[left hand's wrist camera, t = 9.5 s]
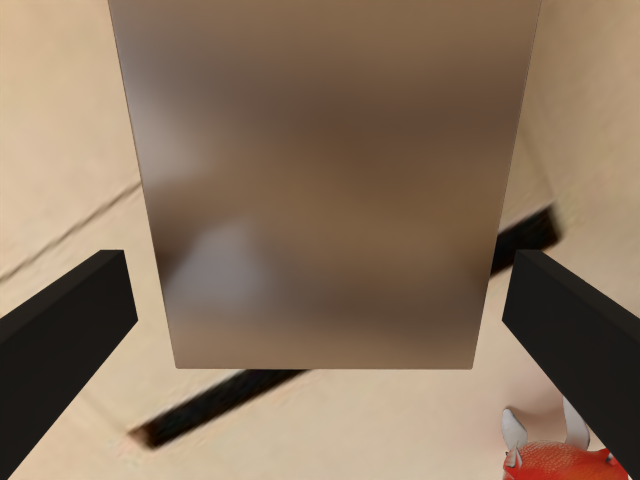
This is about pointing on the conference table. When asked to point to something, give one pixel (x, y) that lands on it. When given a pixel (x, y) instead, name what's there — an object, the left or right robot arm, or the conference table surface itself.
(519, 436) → the fish
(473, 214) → the cabinet
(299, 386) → the conference table surface
